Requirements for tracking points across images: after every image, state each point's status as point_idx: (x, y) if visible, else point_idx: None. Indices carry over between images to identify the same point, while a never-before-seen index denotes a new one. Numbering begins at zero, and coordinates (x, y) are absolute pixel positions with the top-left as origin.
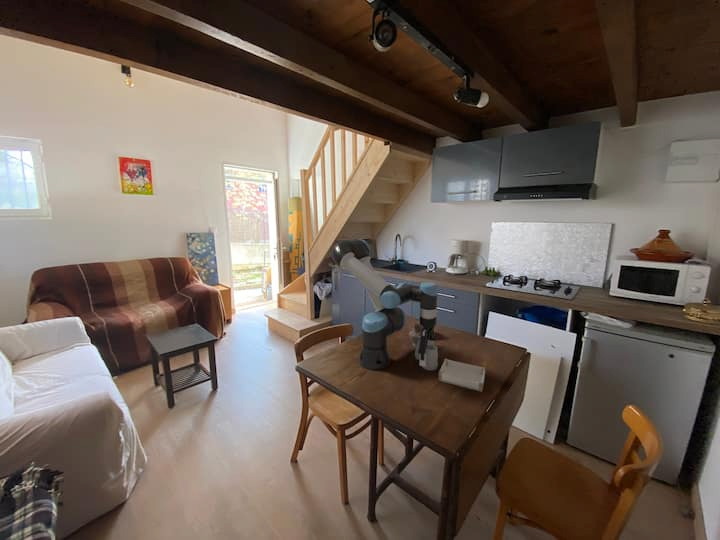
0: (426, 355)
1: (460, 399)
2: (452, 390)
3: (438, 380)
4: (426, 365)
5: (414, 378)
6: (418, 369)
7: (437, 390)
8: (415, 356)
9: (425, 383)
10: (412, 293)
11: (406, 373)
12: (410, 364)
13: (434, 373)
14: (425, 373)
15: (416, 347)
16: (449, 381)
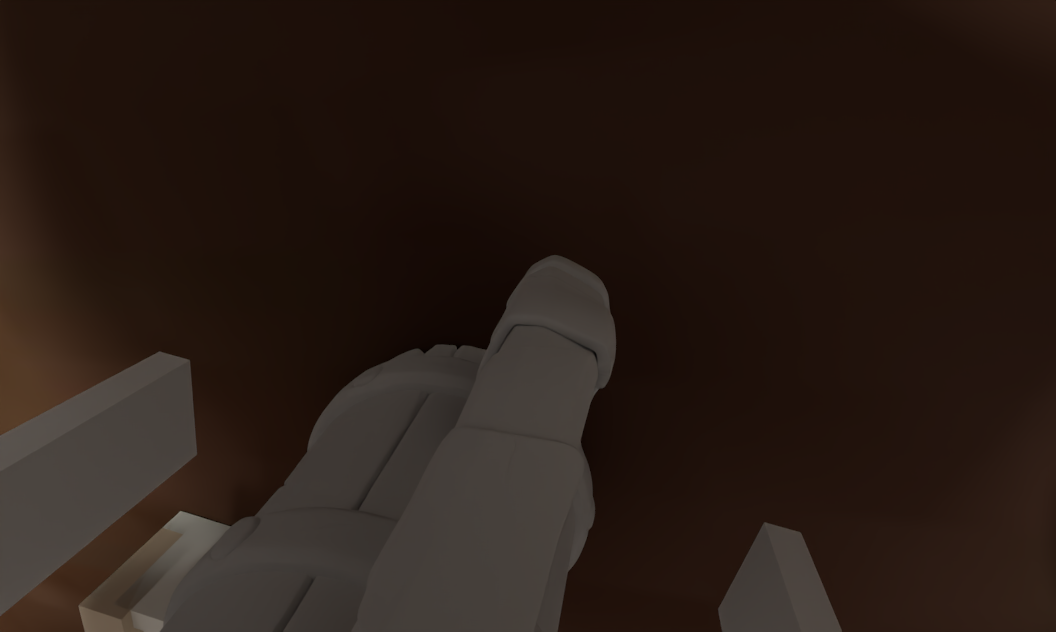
0: (165, 615)
1: (24, 622)
2: None
3: (179, 514)
4: (308, 448)
5: (59, 236)
6: (317, 289)
7: None
8: (544, 258)
9: (47, 376)
10: None
11: (107, 90)
12: (429, 134)
13: None
14: (257, 386)
15: (462, 419)
16: None
